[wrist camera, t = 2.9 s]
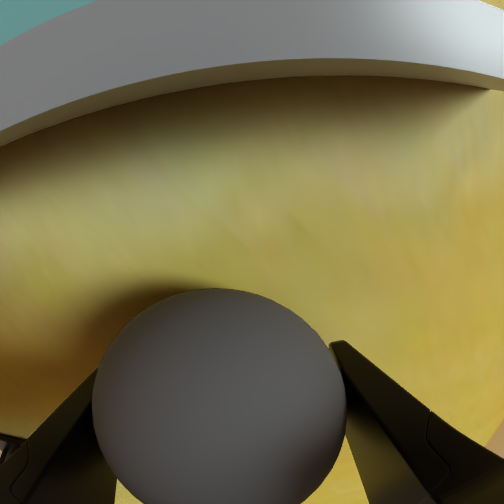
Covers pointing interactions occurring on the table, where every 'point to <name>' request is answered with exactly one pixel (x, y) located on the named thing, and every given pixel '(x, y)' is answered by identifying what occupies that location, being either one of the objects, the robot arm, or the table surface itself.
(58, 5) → the dish
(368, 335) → the table surface
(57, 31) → the low wall
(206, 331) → the ball
